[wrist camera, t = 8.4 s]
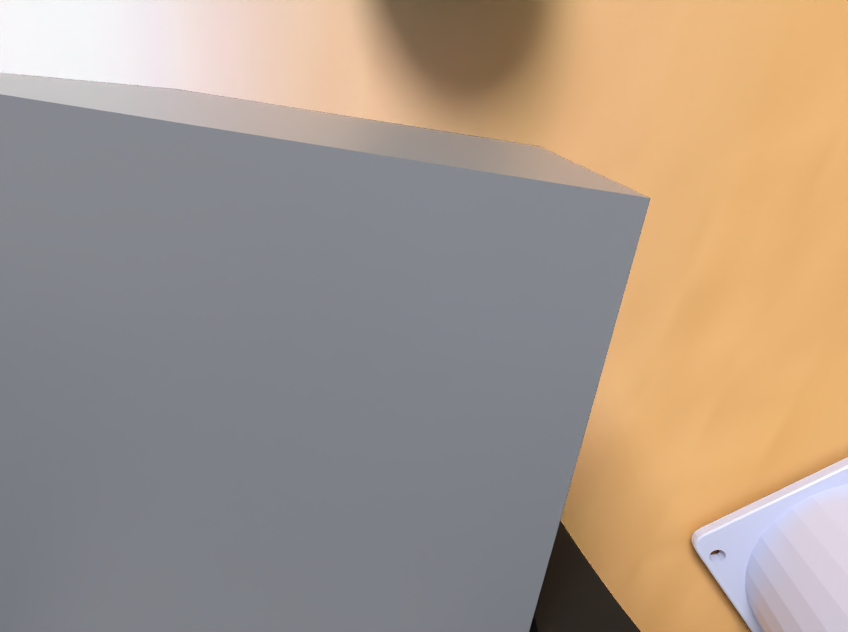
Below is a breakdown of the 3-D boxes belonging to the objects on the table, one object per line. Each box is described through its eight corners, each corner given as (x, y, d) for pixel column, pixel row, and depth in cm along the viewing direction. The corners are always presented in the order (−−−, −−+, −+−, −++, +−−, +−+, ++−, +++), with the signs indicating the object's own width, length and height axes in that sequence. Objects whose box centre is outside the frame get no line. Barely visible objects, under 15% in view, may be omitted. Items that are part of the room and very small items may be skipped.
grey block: (433, 654, 13) (400, 1092, 7) (176, 606, 13) (-61, 995, 7) (539, 145, 9) (650, 198, 3) (176, 88, 9) (-315, 44, 3)
